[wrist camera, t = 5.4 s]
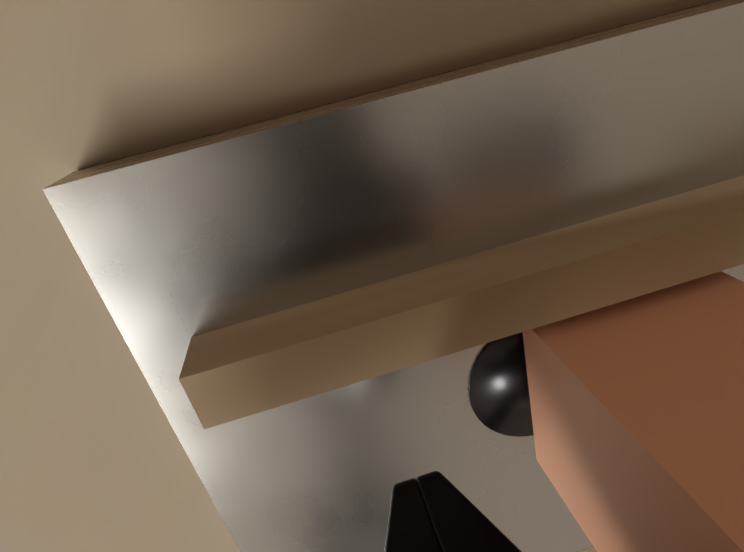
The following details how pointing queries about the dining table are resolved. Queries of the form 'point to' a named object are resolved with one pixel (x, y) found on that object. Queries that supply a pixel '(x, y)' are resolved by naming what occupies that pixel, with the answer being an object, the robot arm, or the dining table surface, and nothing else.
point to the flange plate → (398, 260)
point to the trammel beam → (462, 303)
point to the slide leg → (646, 417)
